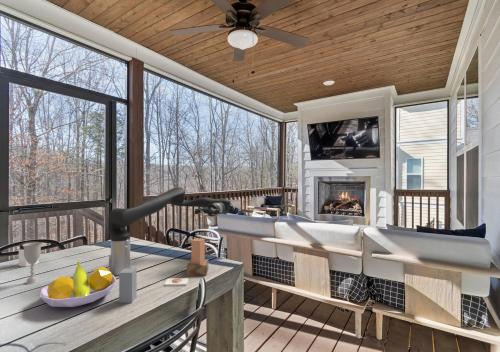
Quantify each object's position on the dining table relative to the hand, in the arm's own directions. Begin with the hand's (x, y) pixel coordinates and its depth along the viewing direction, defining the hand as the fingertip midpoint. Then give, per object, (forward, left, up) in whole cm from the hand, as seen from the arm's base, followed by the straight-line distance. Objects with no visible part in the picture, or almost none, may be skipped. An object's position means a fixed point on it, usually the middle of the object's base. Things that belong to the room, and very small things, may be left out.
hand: (202, 212), depth 150 cm
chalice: (-77, -17, -30) cm, 85 cm away
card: (-9, -21, -30) cm, 38 cm away
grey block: (-25, -38, -30) cm, 55 cm away
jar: (-98, +10, -30) cm, 103 cm away
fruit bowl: (-45, -35, -30) cm, 65 cm away
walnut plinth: (-1, -7, -30) cm, 31 cm away
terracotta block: (-1, -7, -25) cm, 26 cm away
